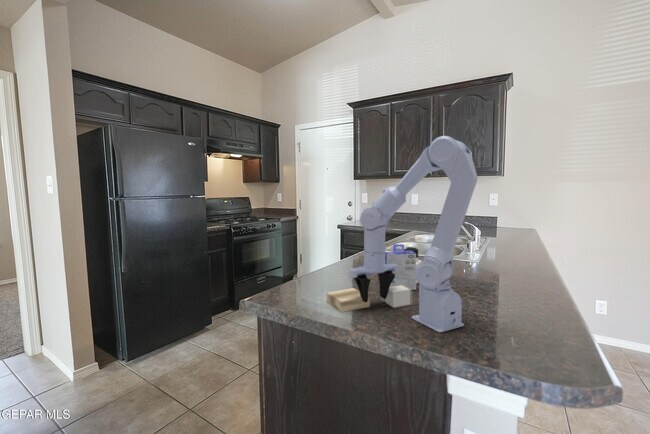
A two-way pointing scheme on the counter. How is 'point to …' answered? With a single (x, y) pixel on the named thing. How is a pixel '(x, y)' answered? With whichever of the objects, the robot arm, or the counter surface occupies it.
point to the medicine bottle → (416, 256)
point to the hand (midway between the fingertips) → (374, 299)
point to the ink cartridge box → (402, 266)
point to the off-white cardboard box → (399, 296)
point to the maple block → (347, 300)
